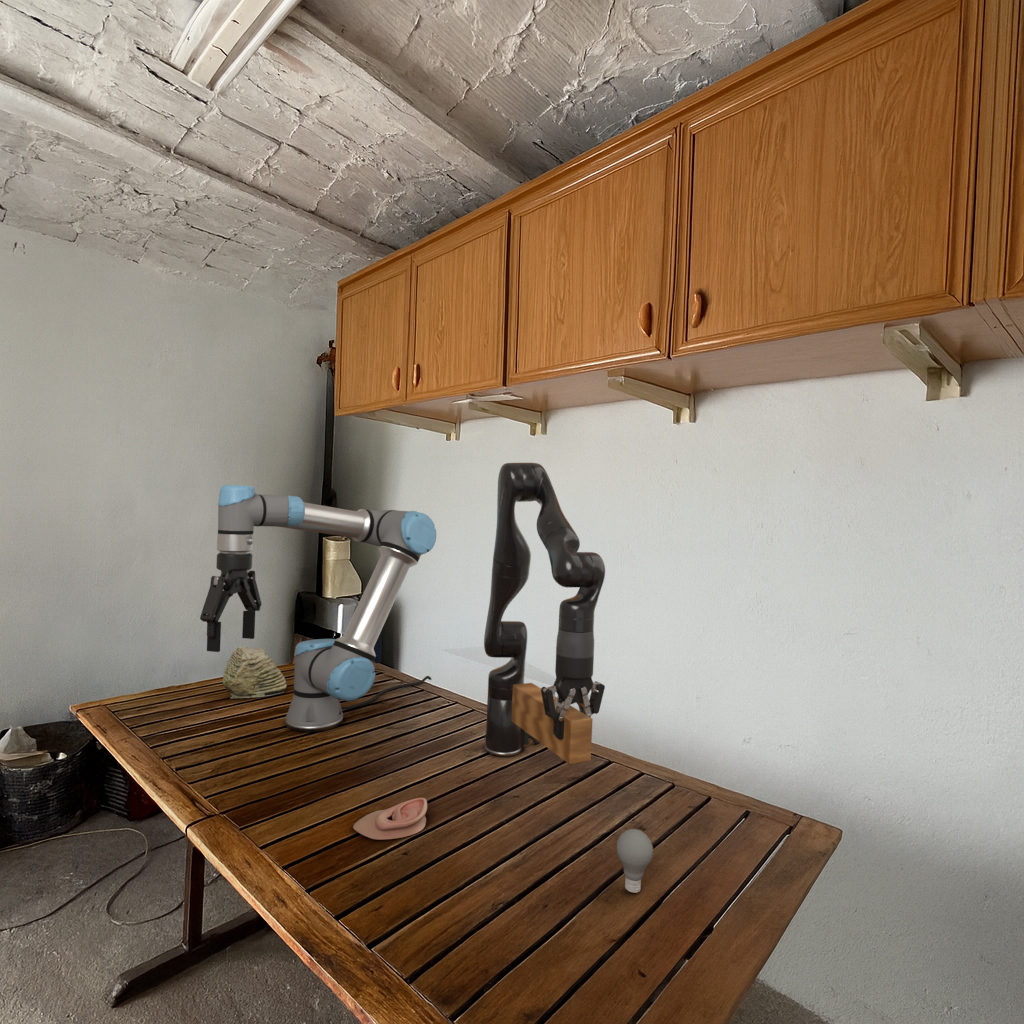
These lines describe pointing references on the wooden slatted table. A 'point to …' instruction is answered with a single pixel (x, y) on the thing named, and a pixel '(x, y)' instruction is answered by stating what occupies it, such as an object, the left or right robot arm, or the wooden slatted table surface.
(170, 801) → the wooden slatted table surface
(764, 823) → the wooden slatted table surface
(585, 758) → the bar
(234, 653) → the fossil
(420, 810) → the anatomical model
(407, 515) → the left robot arm
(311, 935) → the wooden slatted table surface
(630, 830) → the light bulb
